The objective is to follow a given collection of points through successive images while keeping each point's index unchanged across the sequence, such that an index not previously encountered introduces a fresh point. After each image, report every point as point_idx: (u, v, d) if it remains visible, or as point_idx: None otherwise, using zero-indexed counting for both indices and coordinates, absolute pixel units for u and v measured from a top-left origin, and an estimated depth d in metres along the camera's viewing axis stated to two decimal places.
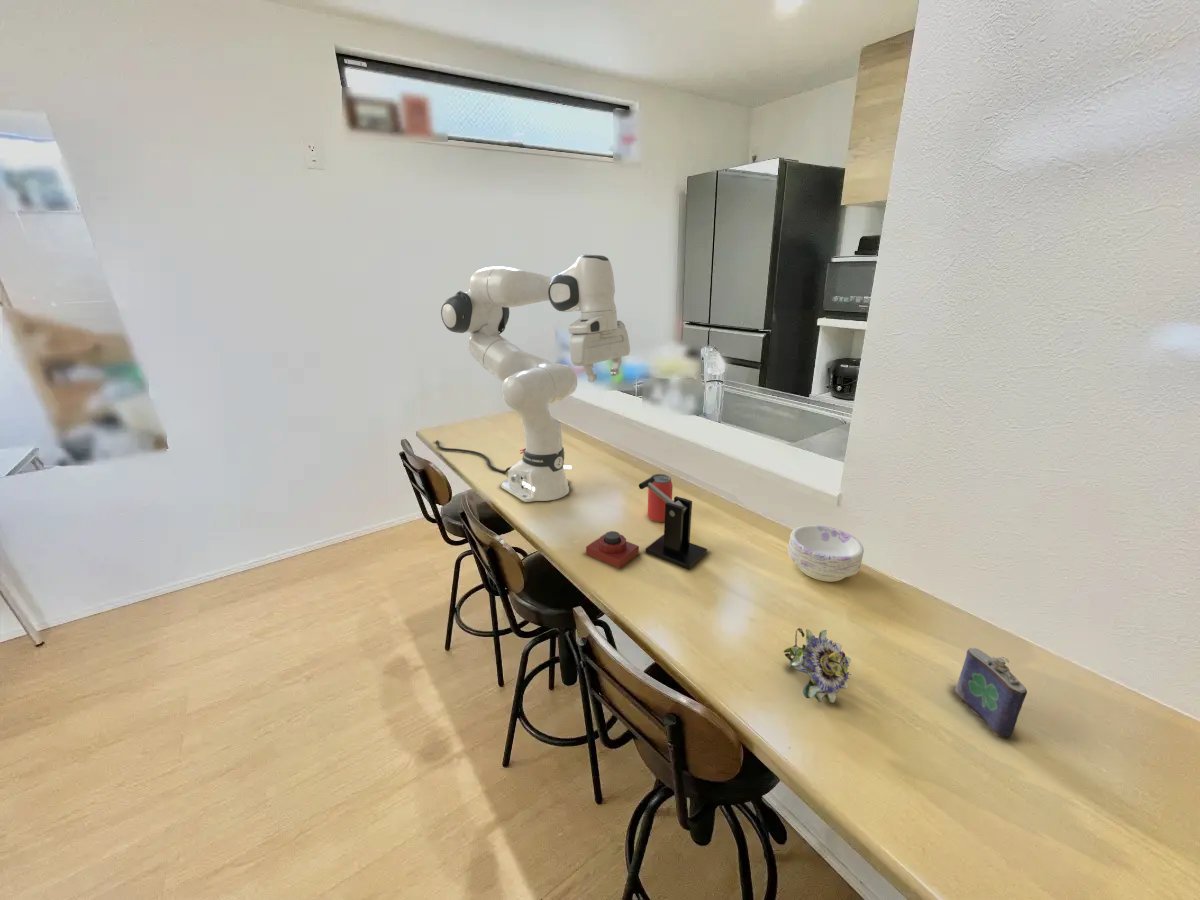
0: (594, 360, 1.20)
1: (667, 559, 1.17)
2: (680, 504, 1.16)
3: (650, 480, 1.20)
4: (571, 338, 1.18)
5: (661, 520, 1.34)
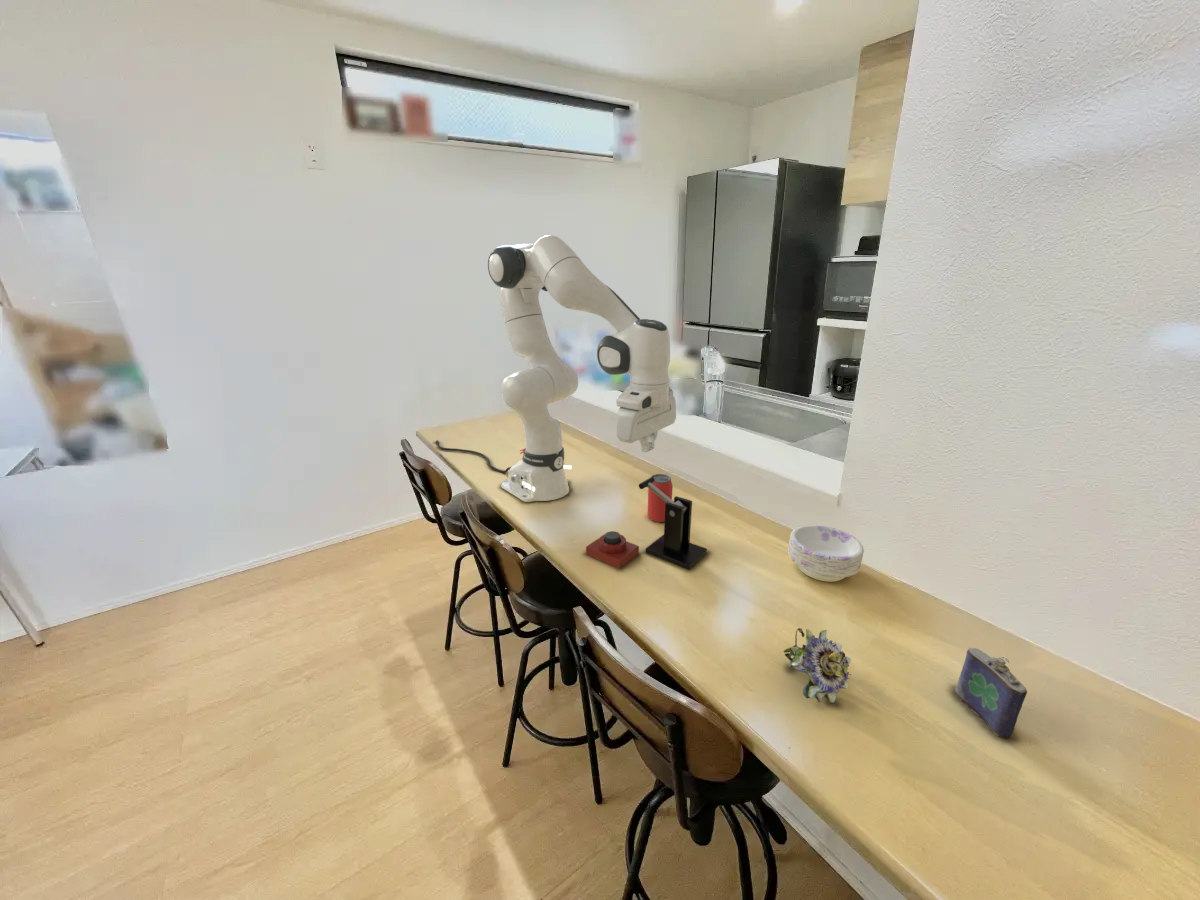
0: (641, 436, 1.10)
1: (667, 559, 1.17)
2: (680, 504, 1.16)
3: (650, 480, 1.20)
4: (619, 412, 1.08)
5: (661, 520, 1.34)
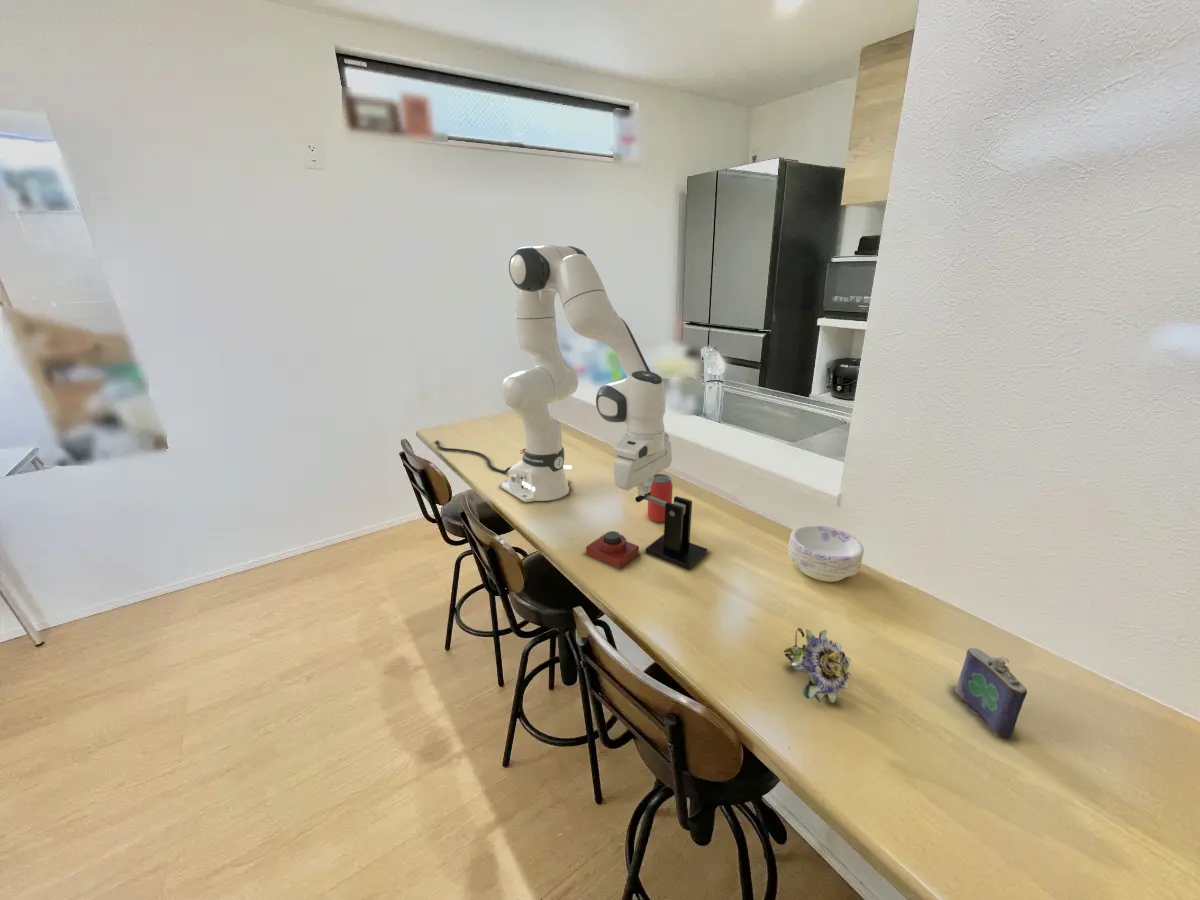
0: (638, 482, 1.15)
1: (667, 559, 1.17)
2: (678, 503, 1.16)
3: None
4: (616, 461, 1.12)
5: (661, 520, 1.34)
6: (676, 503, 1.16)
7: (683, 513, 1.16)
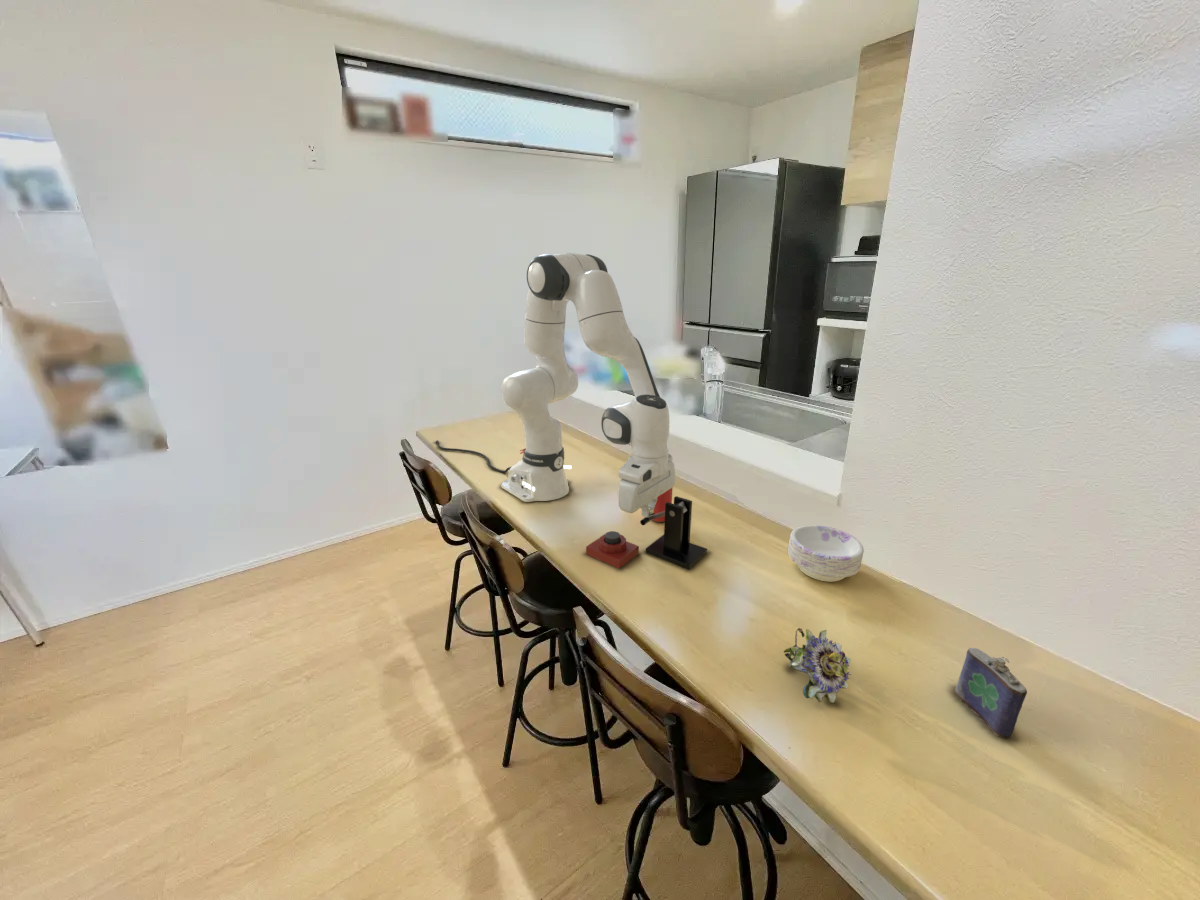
0: (642, 505, 1.16)
1: (667, 559, 1.17)
2: (676, 504, 1.17)
3: None
4: (621, 484, 1.13)
5: (661, 520, 1.34)
6: None
7: (684, 510, 1.15)
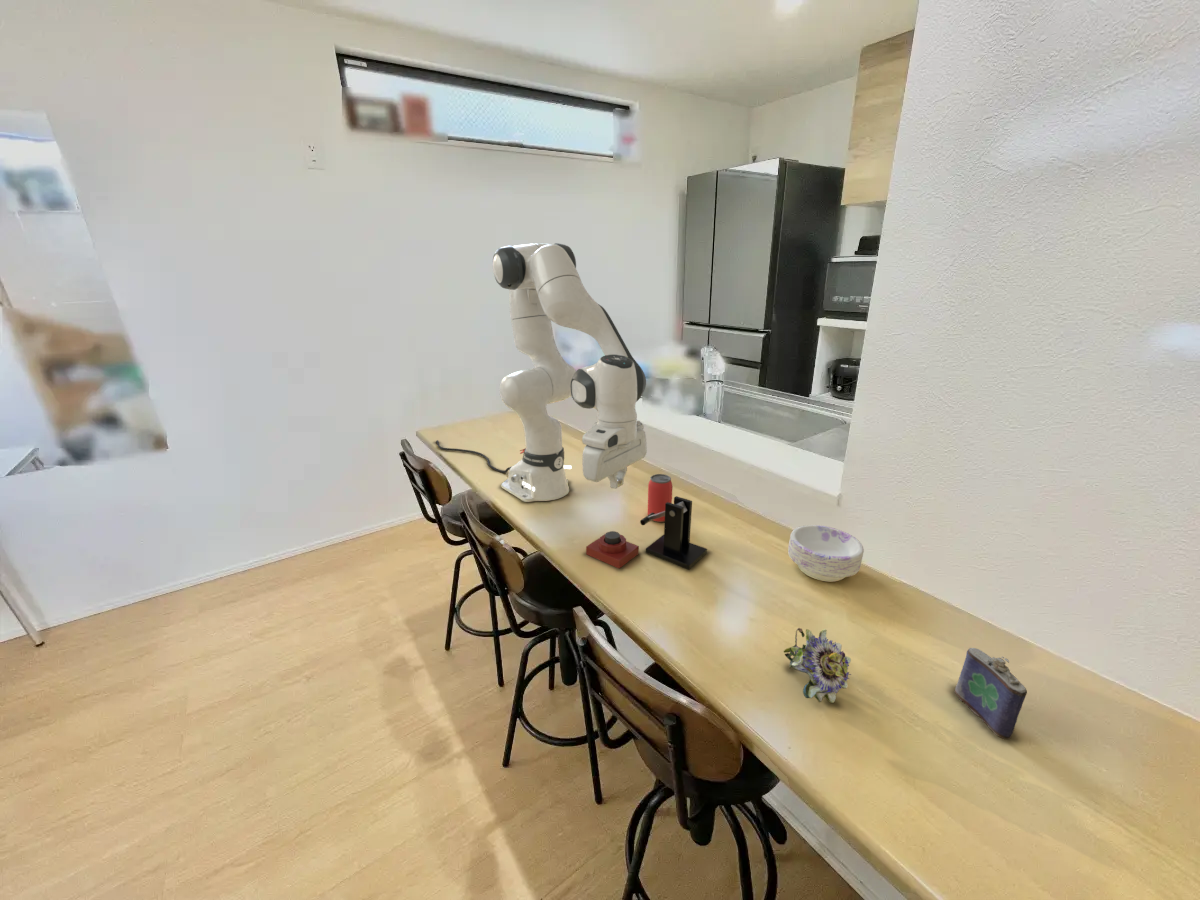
0: (608, 474, 1.07)
1: (667, 559, 1.17)
2: (676, 504, 1.17)
3: (649, 514, 1.24)
4: (585, 450, 1.05)
5: (661, 520, 1.34)
6: None
7: (684, 510, 1.15)
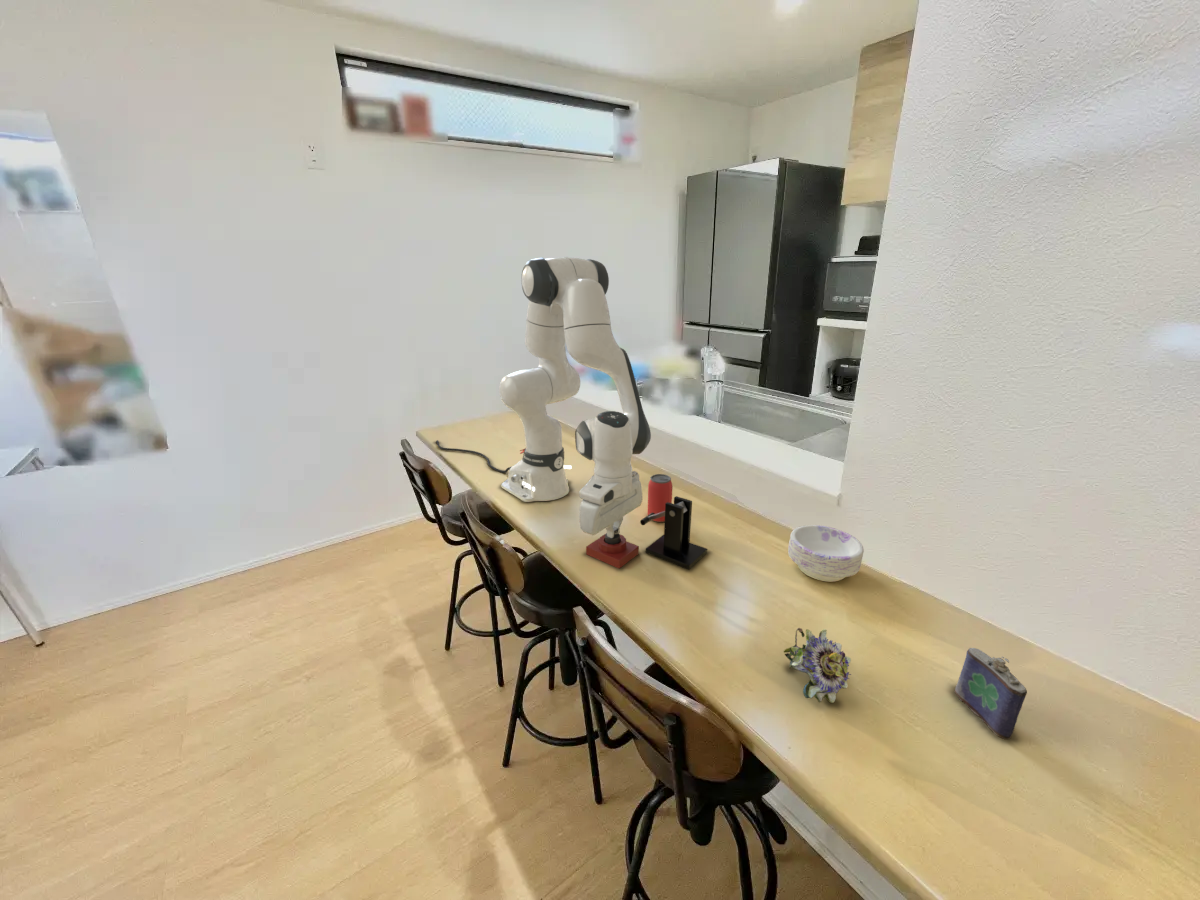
0: (605, 526, 1.11)
1: (667, 559, 1.17)
2: (676, 504, 1.17)
3: (649, 514, 1.24)
4: (582, 505, 1.09)
5: (661, 520, 1.34)
6: None
7: (684, 510, 1.15)
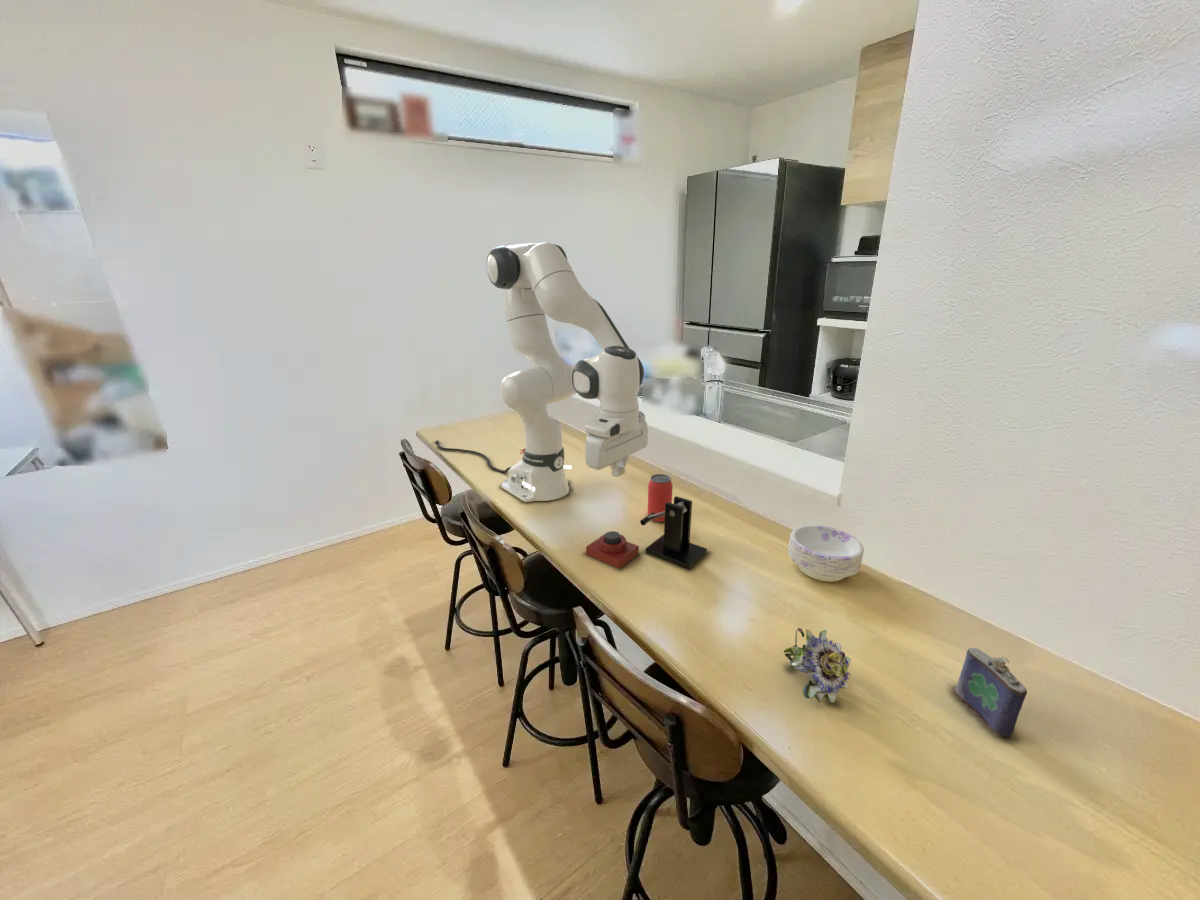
0: (610, 462, 1.11)
1: (667, 559, 1.17)
2: (676, 504, 1.17)
3: (649, 514, 1.24)
4: (588, 439, 1.08)
5: (661, 520, 1.34)
6: None
7: (684, 510, 1.15)
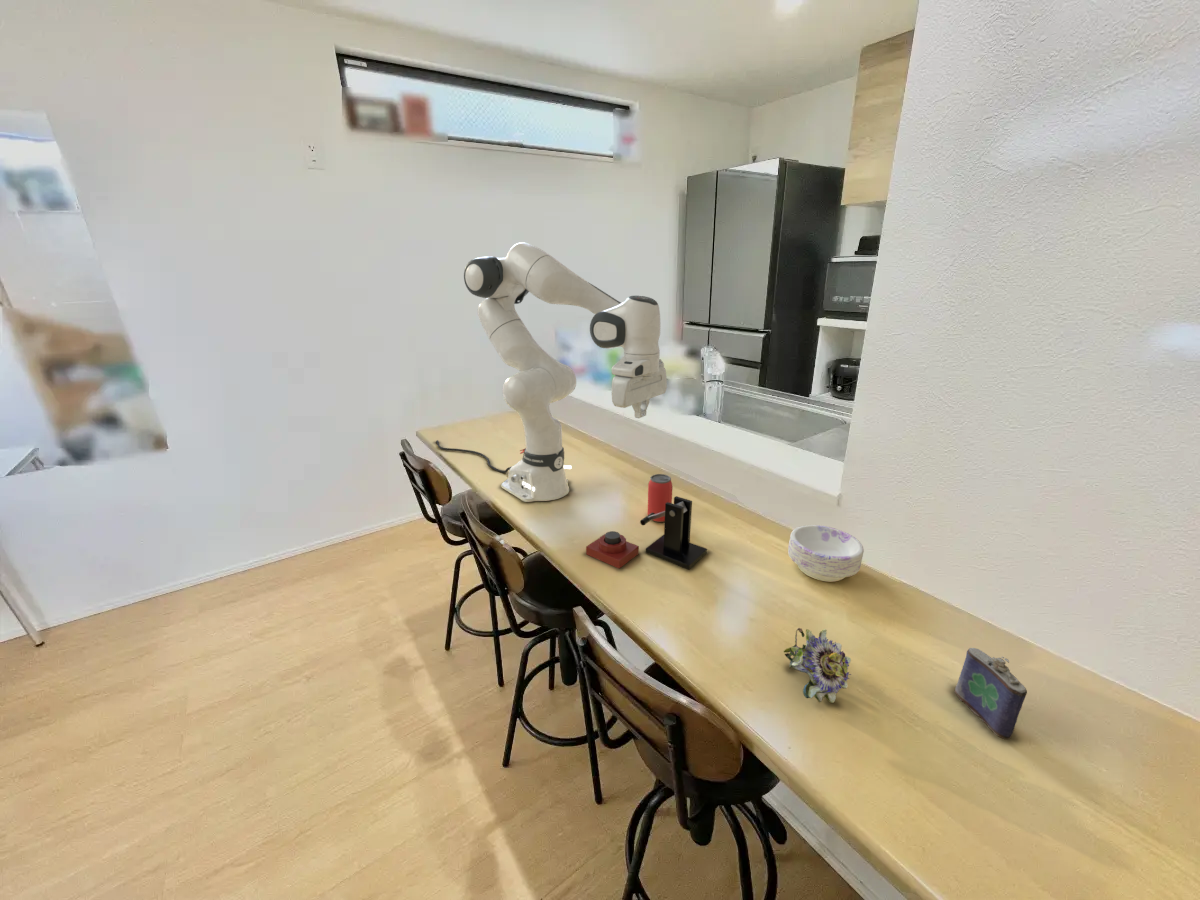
0: (634, 402, 1.21)
1: (667, 559, 1.17)
2: (676, 504, 1.17)
3: (649, 514, 1.24)
4: (614, 379, 1.19)
5: (661, 520, 1.34)
6: None
7: (684, 510, 1.15)
